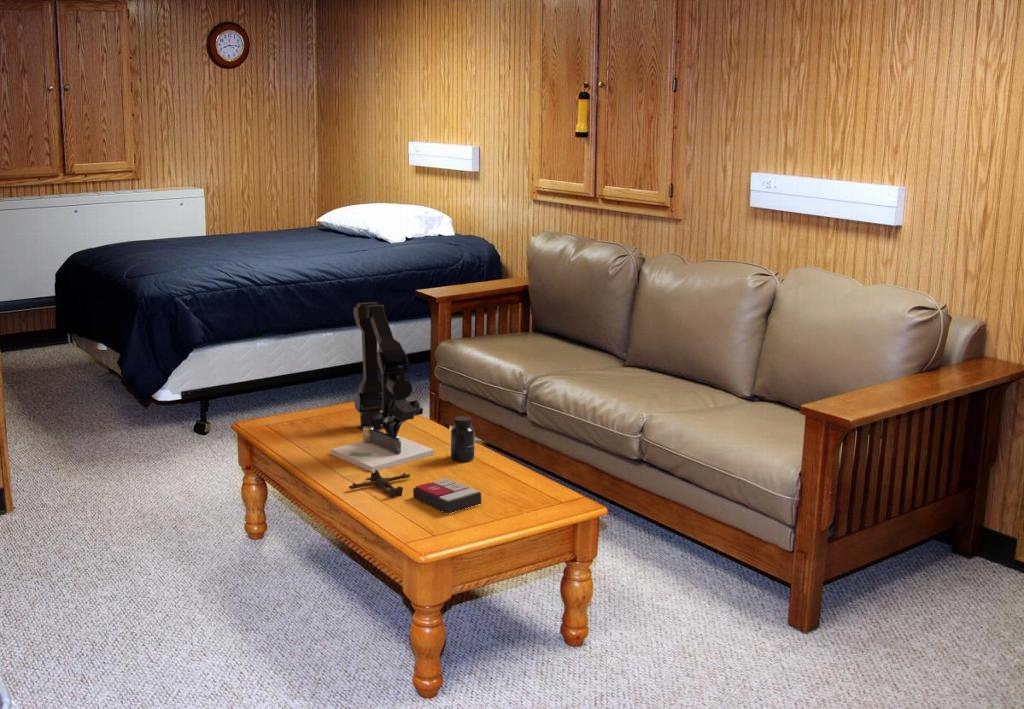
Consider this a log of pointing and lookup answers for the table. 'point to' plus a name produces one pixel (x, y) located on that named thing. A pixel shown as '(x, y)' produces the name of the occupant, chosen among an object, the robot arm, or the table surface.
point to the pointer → (381, 439)
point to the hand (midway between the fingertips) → (392, 441)
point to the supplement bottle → (462, 440)
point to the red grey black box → (447, 495)
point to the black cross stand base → (383, 483)
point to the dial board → (380, 454)
